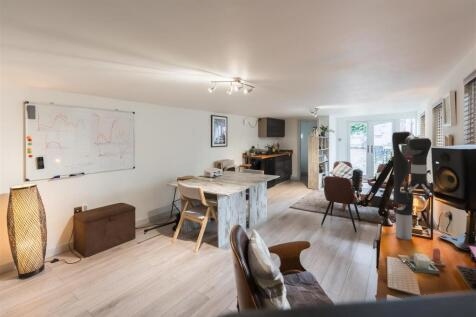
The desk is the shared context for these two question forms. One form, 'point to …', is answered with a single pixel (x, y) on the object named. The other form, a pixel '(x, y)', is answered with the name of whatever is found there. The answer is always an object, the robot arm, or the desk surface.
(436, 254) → the pawn
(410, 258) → the board
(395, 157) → the robot arm
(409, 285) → the desk surface
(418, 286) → the desk surface
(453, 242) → the desk surface
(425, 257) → the die
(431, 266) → the tray
